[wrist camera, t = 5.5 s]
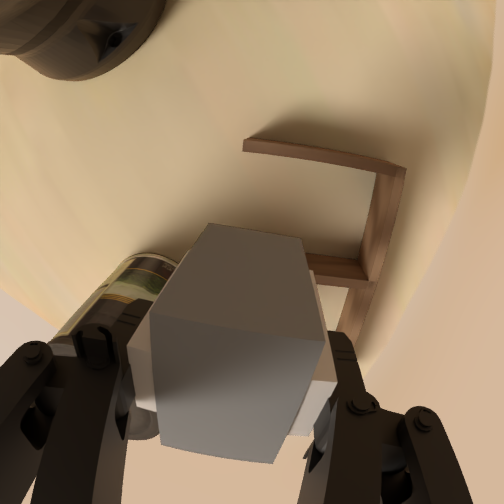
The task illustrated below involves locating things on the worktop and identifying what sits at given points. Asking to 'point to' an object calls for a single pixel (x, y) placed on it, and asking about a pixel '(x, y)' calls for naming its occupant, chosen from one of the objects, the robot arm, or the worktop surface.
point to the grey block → (234, 344)
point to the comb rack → (375, 235)
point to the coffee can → (108, 310)
